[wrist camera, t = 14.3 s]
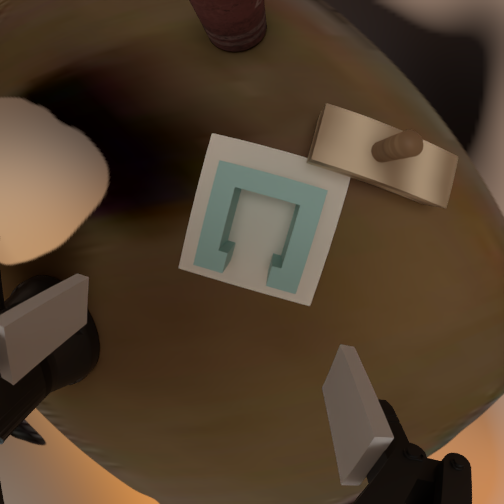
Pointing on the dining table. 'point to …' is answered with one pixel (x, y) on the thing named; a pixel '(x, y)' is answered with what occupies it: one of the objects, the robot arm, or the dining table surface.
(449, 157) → the hook stand
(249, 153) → the felt mat
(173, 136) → the dining table surface
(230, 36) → the can
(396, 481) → the robot arm
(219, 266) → the c link
